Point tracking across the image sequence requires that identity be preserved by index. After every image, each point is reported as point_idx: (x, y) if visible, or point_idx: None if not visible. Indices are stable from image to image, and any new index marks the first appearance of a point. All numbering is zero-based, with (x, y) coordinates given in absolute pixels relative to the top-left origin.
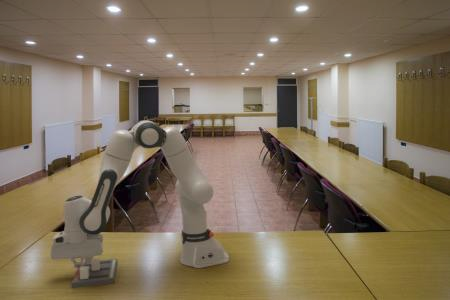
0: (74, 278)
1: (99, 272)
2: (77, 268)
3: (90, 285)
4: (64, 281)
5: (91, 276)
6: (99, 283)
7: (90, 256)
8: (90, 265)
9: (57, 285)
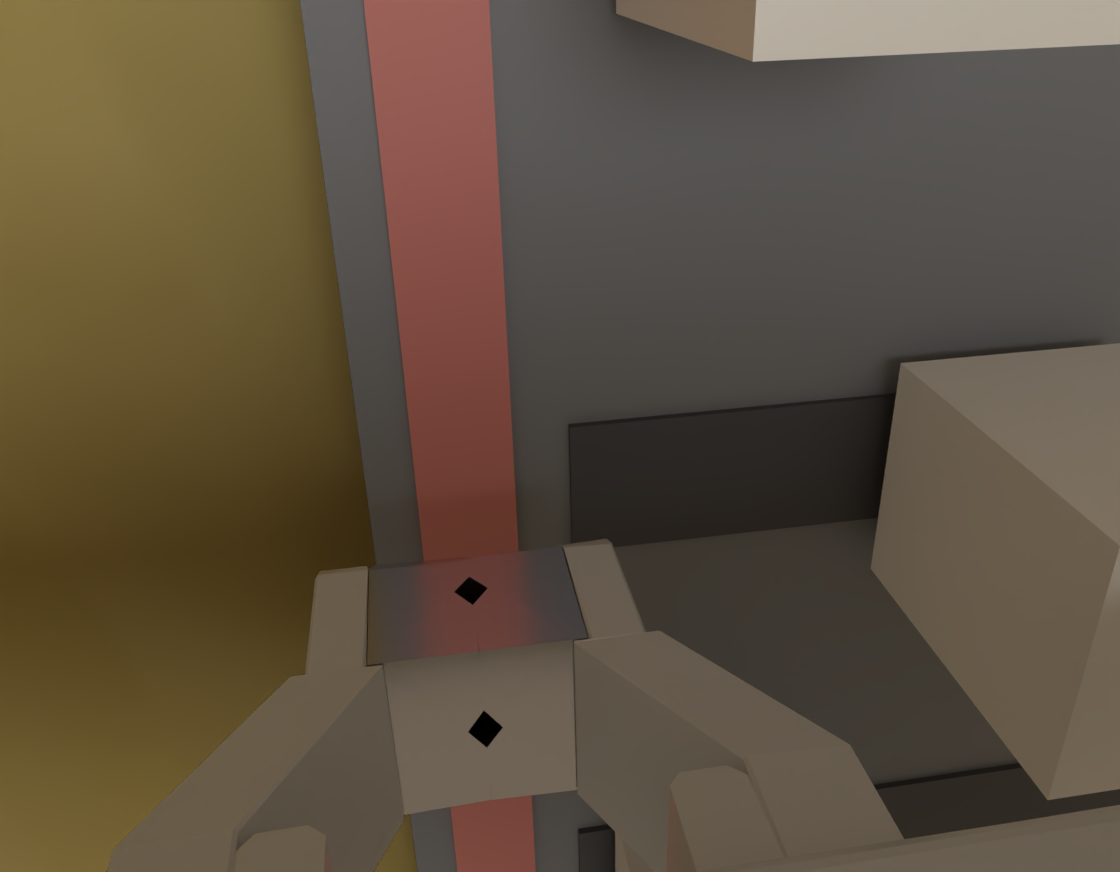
0: (443, 848)
1: None
2: (333, 228)
3: None
4: (129, 655)
5: None
6: None
7: (1053, 45)
8: None
9: (39, 814)
